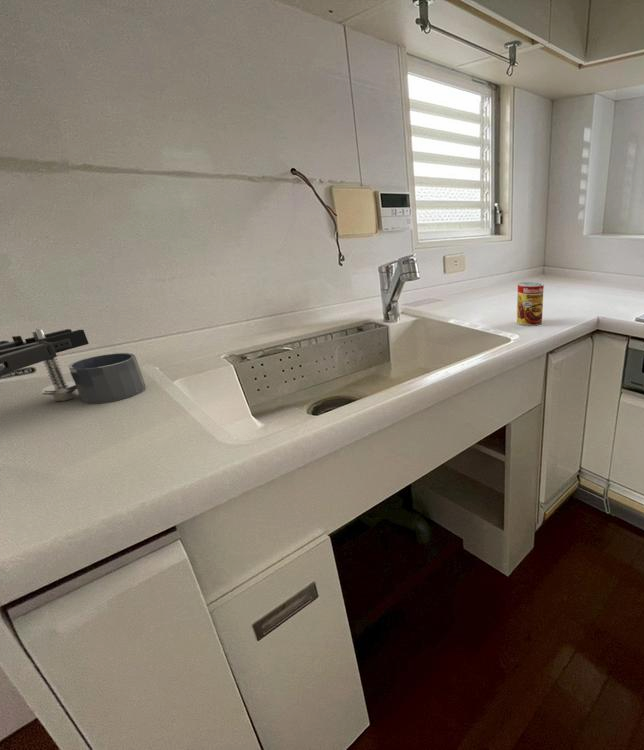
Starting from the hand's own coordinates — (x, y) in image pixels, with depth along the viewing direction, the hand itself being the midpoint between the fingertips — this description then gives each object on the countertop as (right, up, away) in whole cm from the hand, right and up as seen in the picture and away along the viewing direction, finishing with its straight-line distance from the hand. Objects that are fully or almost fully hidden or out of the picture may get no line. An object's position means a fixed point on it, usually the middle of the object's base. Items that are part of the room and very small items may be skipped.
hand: (77, 336), depth 74 cm
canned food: (+87, +9, +52) cm, 102 cm away
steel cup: (+6, -11, +1) cm, 12 cm away
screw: (-1, -12, -1) cm, 12 cm away
